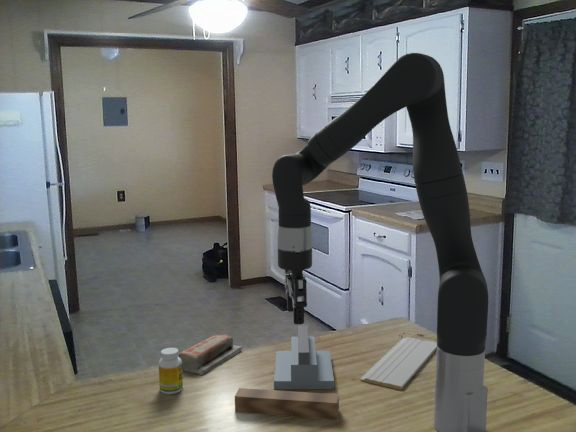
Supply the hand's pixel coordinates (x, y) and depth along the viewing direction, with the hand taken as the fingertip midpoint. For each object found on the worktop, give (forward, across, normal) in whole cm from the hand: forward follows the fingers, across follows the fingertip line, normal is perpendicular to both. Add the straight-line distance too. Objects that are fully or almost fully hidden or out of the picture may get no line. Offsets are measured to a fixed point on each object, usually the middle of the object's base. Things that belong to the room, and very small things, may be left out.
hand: (295, 317), depth 131 cm
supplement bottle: (+19, -8, -28) cm, 35 cm away
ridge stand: (+19, -12, +4) cm, 23 cm away
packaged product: (+19, -25, -19) cm, 37 cm away
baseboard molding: (+20, -14, +30) cm, 39 cm away
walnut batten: (+19, +6, -3) cm, 20 cm away
